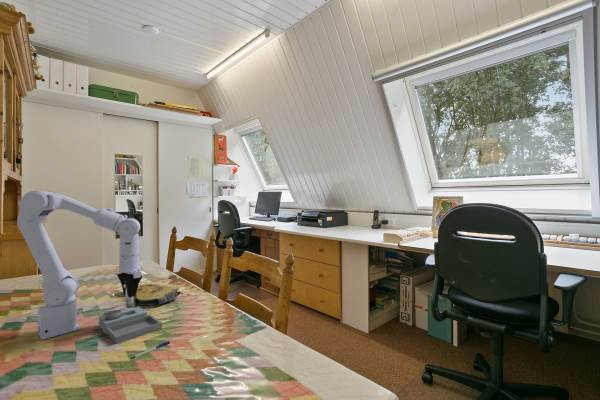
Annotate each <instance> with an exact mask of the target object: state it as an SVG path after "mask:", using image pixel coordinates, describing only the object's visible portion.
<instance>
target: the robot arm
mask: <svg viewBox="0 0 600 400" xmlns="http://www.w3.org/2000/svg"><path fill="white" fill-rule="evenodd" d="M17 205H18V206H19V207H18V208H19V209H18V215H17V216H18V217H17V220H16V221H17V222H16V223H17V227H18V228H19V230H20V233H21V235H22V237H23V239H24V241H25V243H26V245H27V246H28V250H29V251H30V253H31V255H32V257H33V259H34V261H35V263H36V265H37V267H38V269H39V271H40V274H41V275H42V277H43V278H42V281H41V287H42V290H43V294H42V299H43V301H44V303H46V304H44V305H41V306H39V307H37V328H36V329H37V334H38V336H39V338H40V340H41V341H42V340H47V339H50V338H54V337H58V336H60V335H65V334H68V333H71V332H75V331H78V330H81V328H82V327H81V326H80V325H79V323H78V322H77V321H78V320H77V319H78V317H77V316H78V314H77V311H78V310H77V303H78V302H77V296H76V293H77V292H78V290H79V288H80V284H79V281H78V280H77V278H74V277H73V275H72V274H71V272H70V271H68V270H66V269H65V268H64V265H63V264H62V261H61V260H60V257H59V255H58V253H57V251H56V249H55V247H54V245H53V243H52V240H51V239H50V236H49V235H48V232H47V230H46V229H45V225H44V224H43V223H44V222H45V220H46V219H47V218H48V216H49V215H50V214H51V213H52V212H54V211H55V210H67V211H68V212H72V213H75V214H78V215H80V216H81V215H82V216H84V217H87V218H90V219H92V221H93V223H94V224H95V225H96V226H100V227H101V228H104V229H107V230H109V231H112V232H114V233H117V234H118V235H119V265H118V272H119V273H117V274H116V276H117V278H118V280H119V282H120V284H121V289H122V292H123V295H124V296H126V289H127V295H128V297H129V298H130V297H134V296H136V293H137V289H138V286H140V283H141V280H142V279H143V277H144V275H143V274H142V271H141V269H144V266H143V265H140V235H139V232H140V230H141V224H140V222H139V221H138V220H137V219H135V218H134V217H128V215H126V214H124V215H123V214H121V213H118V212H115V211H114V209H113V208H110V207H108V208H104V207H103V208H101V209H97V208H95V207H94V206H93V207H92V206H90V205H88V204H86V203H84V202H81V201H79V200H76V199H75V198H73V197H70V196H67V195H64V194H61V193H57V192H55V191H51V190H45V191H42V190H41V191H40V190H31V191H28V192H26V193H24V195H23V196H22V197H21V198H20V200H19V201H18V202H17ZM124 284H126V288H124Z"/></svg>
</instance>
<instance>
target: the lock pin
mask: <svg viewBox="0 0 600 400" xmlns="http://www.w3.org/2000/svg"><path fill="white" fill-rule="evenodd" d="M124 288H126V284H124ZM132 308H135V298H134V297H130V298H129V297H128V295H127V289H126V295H125V309H132Z"/></svg>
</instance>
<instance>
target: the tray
mask: <svg viewBox="0 0 600 400" xmlns="http://www.w3.org/2000/svg"><path fill="white" fill-rule="evenodd" d="M162 329H163V322H162V321H161V320H159V319H158V318H156V317H155V316H154V315H152V314H148V315H147V316H144V317H141V318H137V319H134V320H130V321H127V322H123V323H120V324H116V325H113V326H109V327H106V333H105V334H106V335H107V336H108V337H109V338H110V339H111V341H112V342H114V344H116V345H117V344H120V343H122V342H126V341H129V340H132V339H135V338H138V337H141V336H144V335H147V334H150V333H154V332H156V331H159V330H162Z"/></svg>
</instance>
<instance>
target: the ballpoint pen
mask: <svg viewBox="0 0 600 400" xmlns="http://www.w3.org/2000/svg"><path fill="white" fill-rule="evenodd" d="M170 344H171V342H170V340H167V341H164V342H162V343H160V344H158V345H156V346H155V347H154V346H153V347H152V348H150V349H147V350H145V351H142V352H140V353H138V354H135V355H133V356H132V357H131V358H130V359H131V360H132V359H136V358H138V357H141V356H143V355H145V354H147V353H151V352H152V351H155V350H157V349H160V348H162V347H165V346H167V345H170Z"/></svg>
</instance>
